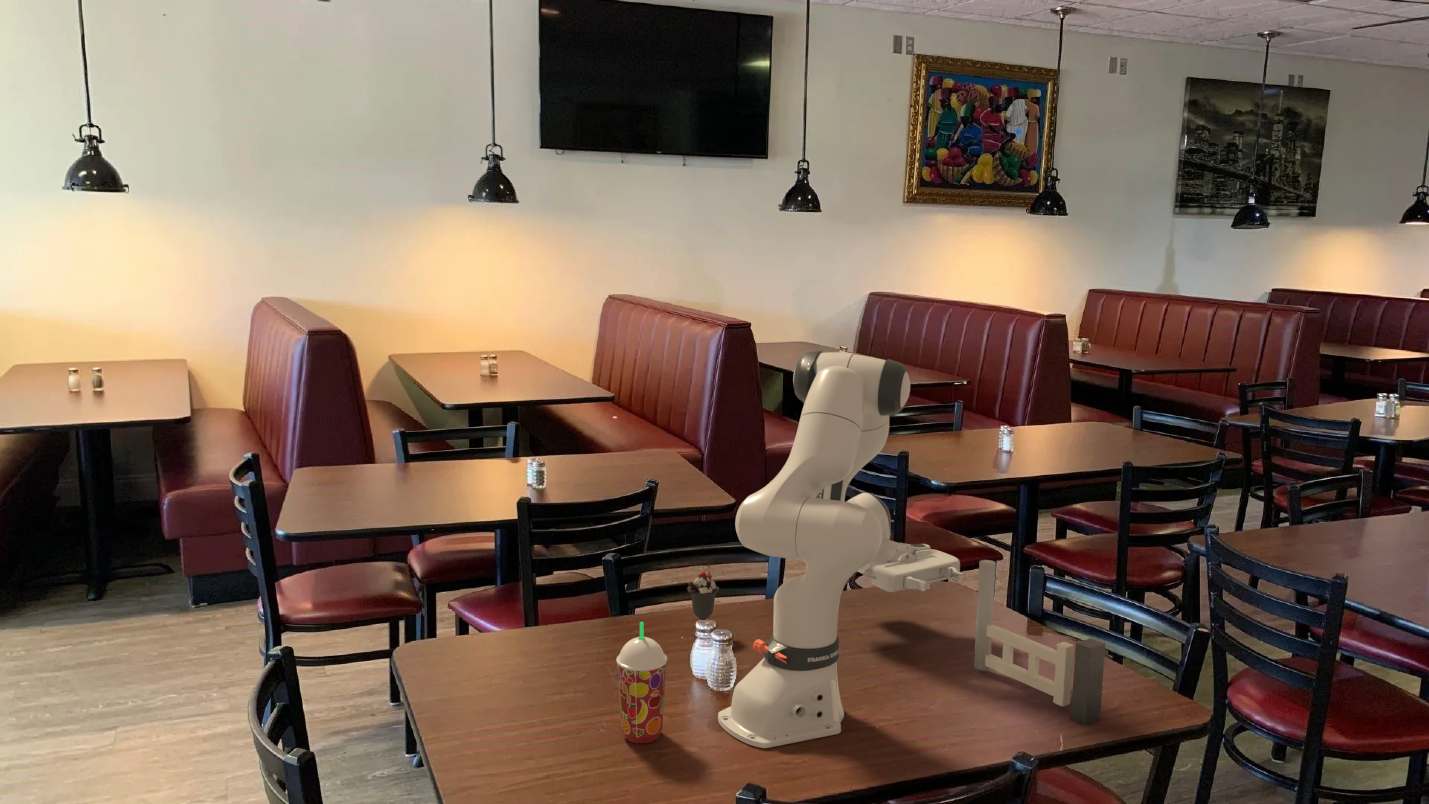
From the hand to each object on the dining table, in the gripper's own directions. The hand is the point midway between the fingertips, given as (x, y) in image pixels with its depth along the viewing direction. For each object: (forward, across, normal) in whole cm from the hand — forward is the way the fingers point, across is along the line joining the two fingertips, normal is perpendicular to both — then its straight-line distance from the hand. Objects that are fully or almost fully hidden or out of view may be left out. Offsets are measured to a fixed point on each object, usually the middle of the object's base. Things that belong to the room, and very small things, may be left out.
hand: (944, 582), depth 208 cm
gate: (+20, 0, +14) cm, 24 cm away
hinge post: (+34, 0, +15) cm, 37 cm away
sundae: (-34, -35, +15) cm, 51 cm away
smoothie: (-2, -68, +15) cm, 70 cm away
